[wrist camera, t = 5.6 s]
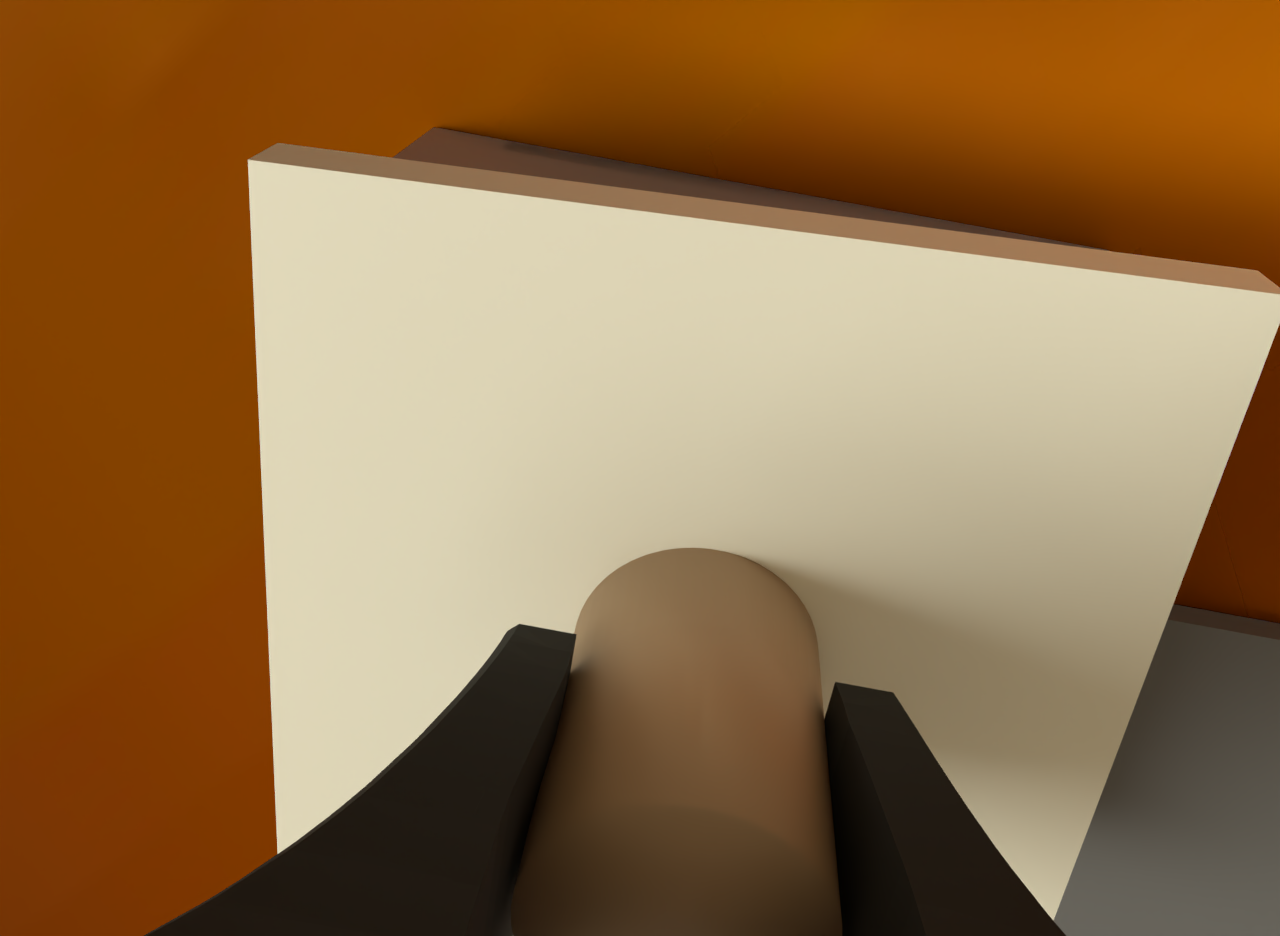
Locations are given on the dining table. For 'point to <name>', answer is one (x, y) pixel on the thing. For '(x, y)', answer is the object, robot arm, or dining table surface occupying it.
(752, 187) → the light blue square dish
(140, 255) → the dining table surface
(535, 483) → the lid
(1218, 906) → the mat
